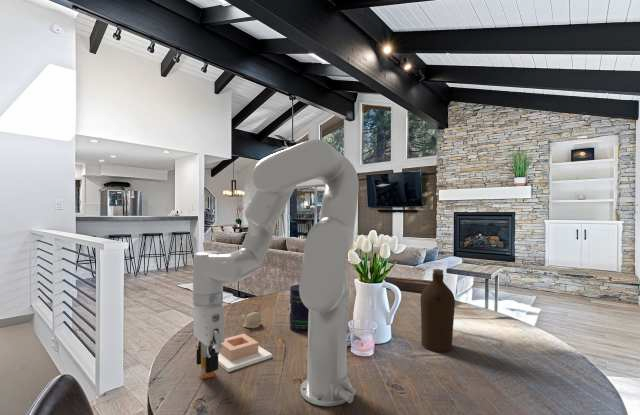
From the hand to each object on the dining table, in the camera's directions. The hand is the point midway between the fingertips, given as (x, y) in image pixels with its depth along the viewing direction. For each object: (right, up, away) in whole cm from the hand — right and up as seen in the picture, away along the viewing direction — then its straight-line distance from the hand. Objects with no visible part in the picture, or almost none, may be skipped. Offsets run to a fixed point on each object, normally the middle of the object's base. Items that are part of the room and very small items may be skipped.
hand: (207, 366), depth 90 cm
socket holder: (+5, -2, +12) cm, 14 cm away
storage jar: (+23, -3, +35) cm, 43 cm away
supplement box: (0, -3, 0) cm, 3 cm away
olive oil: (+68, -4, +21) cm, 71 cm away
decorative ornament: (+4, -2, +36) cm, 37 cm away
